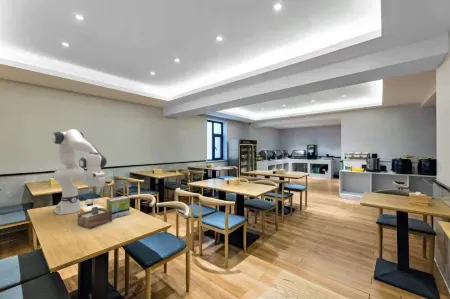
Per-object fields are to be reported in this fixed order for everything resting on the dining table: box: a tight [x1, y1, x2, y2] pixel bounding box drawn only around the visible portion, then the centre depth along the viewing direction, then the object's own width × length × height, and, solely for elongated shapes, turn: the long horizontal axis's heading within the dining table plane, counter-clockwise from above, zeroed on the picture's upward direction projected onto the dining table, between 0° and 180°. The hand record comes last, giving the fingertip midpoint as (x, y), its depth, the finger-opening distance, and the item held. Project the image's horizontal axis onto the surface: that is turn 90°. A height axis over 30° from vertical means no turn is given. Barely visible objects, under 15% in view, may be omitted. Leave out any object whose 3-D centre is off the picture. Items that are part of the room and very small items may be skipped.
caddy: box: [77, 207, 113, 230], centre depth 152 cm, size 15×16×8 cm
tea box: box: [105, 195, 131, 220], centre depth 169 cm, size 15×10×15 cm, turn 143°
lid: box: [81, 206, 104, 219], centre depth 152 cm, size 13×13×6 cm
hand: (94, 191), depth 152 cm, fingers open, 8 cm apart
